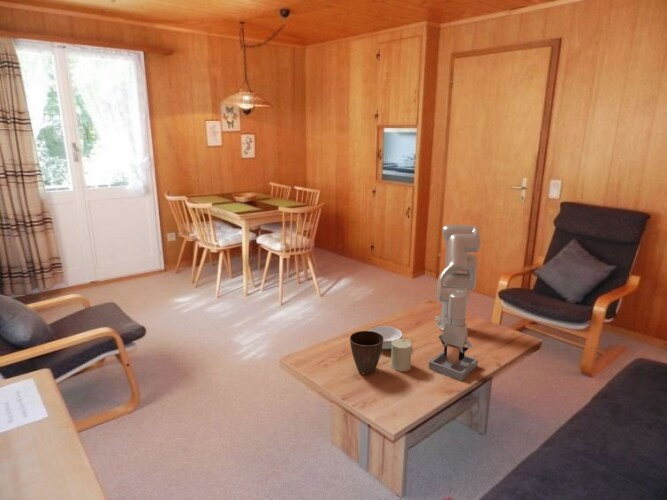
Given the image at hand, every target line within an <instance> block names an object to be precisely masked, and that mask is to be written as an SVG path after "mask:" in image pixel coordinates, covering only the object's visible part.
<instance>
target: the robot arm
mask: <svg viewBox="0 0 667 500" xmlns="http://www.w3.org/2000/svg"><path fill="white" fill-rule="evenodd" d="M441 232H442V233H441V234H442V237H443V239H444V242H445V264H444V265H445V268H444V269H443V270H442V271H441V272H440V274H439V276H438V279H437V284H436V285H437V289H436V296H437V297H436V298H437V300H438V301H439V302H440V303H441V309H440V310H441V313H440V314H441V316H439V315H435V316H434V321H435V322H438V323H437V328H438V329H439V330H441V331H442V334H440V335H438V338H439V341H441V344H442V345H443V347H444V348H443V351H444V352H445V356H446V355H447V344H450V345H453V346H456V347H459V348H460V351H461V352H460V353H459V360H460V361H461V360H462V359H463V358H464V355H465V353H466V352H467V351H468V350H470V349H471V348H473V345H472V344H471V342H470V341H469V339H468V327H467V323H466V316H467V303H468V302H469V301H470V298H471V292H472V291H474V290H475V288H476V286H477V285H476V284H477V273H478V258H477V256H476V254H474V253H478V252H479V251H480V249H481V247H482V246H481V244H482V241H481V236H480V235H481V234H480V229H479V227H478V226H477V225H471V224H469V225H468V224H467V225H466V224H445V225H444V226H443V227H442V231H441ZM470 291H471V292H470ZM465 345H467V346H465Z"/></svg>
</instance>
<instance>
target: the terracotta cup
mask: <svg viewBox="0 0 667 500" xmlns="http://www.w3.org/2000/svg"><path fill="white" fill-rule="evenodd" d="M460 352H461V351H460V348H459V347H456V346H453V345H450V344H447V358H446V361H447V362H448V363H450V364H460V363H461V361H460V360H459V353H460Z"/></svg>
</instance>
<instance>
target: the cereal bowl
mask: <svg viewBox="0 0 667 500" xmlns="http://www.w3.org/2000/svg"><path fill="white" fill-rule="evenodd" d="M368 331H372V332H376V333H379V334H381V335H382V336H383V338H384V339H383V345H382V350H391V347H392V345H391V342H392V341H393V340H396V339H403V333H402V330H400V329H398V328H396V327H393V326H389V325H380V326H379V325H377V326H374V327H372V328H370V329H369V330H368Z"/></svg>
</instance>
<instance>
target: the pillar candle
mask: <svg viewBox="0 0 667 500" xmlns="http://www.w3.org/2000/svg"><path fill="white" fill-rule="evenodd" d="M391 345H392V347H391V349H390V350H391V353H390V354H391V355H390V357H391V358H390V367H392V368H393V369H392V368H391V369H392V370H394V369H395V370H394V371H396V370H398V371H397V372H407V371H410V370H411V367H412V365H411V364H412V341H410V340H408V339H405V338H402V339H396V340H393V341H392V342H391ZM406 370H407V371H406Z"/></svg>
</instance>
